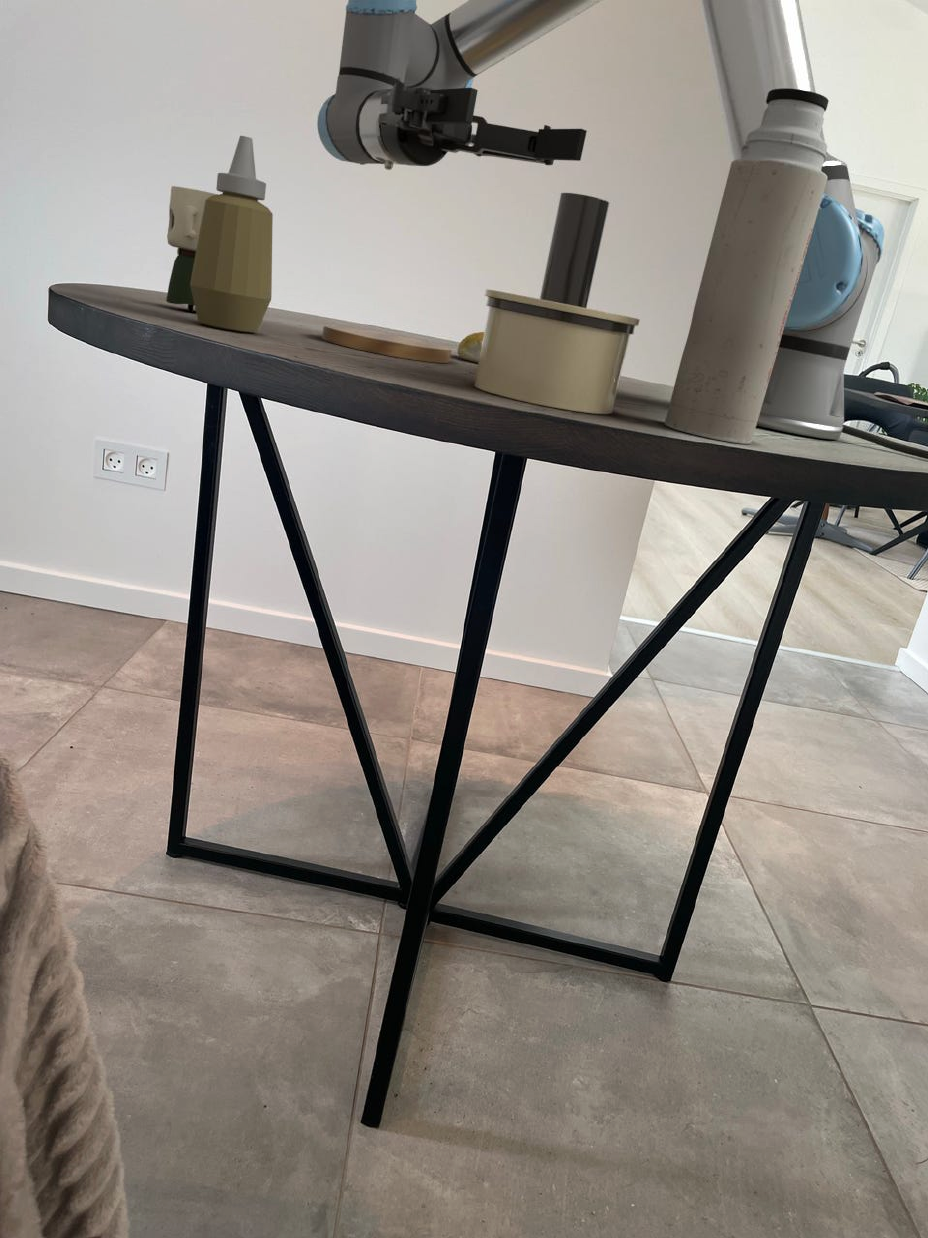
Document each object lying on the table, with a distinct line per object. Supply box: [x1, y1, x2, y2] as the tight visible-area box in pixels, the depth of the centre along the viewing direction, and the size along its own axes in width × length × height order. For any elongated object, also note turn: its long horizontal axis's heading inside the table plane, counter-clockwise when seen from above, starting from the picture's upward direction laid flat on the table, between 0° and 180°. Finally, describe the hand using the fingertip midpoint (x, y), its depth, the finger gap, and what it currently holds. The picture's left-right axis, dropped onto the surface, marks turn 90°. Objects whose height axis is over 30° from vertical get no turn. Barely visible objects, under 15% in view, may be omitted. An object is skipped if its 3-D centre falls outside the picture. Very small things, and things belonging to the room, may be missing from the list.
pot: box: [474, 296, 637, 415], centre depth 86 cm, size 14×14×8 cm
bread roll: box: [457, 331, 484, 364], centre depth 119 cm, size 8×9×4 cm
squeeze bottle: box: [190, 135, 274, 334], centre depth 93 cm, size 8×8×18 cm
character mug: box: [165, 185, 219, 313], centre depth 107 cm, size 11×7×13 cm, turn 178°
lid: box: [484, 192, 641, 327], centre depth 83 cm, size 14×14×10 cm
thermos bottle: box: [664, 88, 829, 445], centre depth 80 cm, size 8×8×28 cm
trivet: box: [321, 324, 452, 364], centre depth 108 cm, size 15×15×2 cm
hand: (529, 125), depth 87 cm, fingers open, 13 cm apart
